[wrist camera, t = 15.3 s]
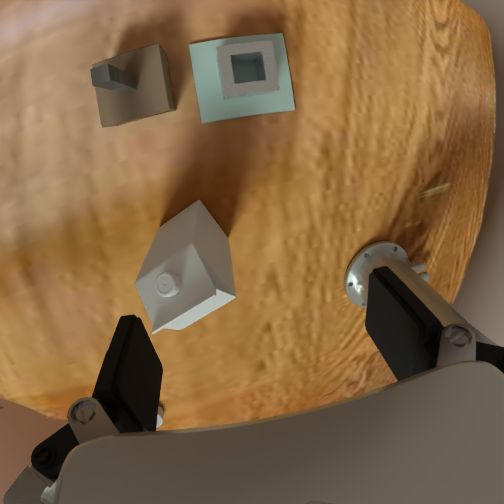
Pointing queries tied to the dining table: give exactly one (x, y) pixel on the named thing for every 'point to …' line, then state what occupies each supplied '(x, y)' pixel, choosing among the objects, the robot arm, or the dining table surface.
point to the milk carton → (186, 270)
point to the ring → (242, 54)
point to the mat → (238, 81)
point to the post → (133, 86)
